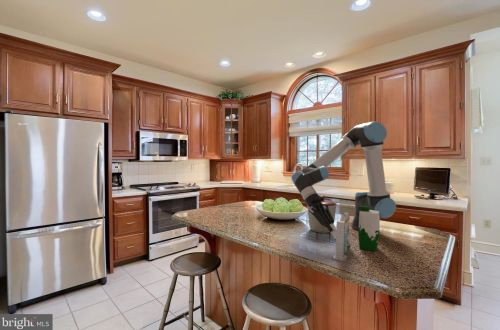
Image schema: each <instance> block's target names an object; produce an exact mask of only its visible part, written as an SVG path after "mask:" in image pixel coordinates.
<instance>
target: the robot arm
mask: <svg viewBox="0 0 500 330" xmlns="http://www.w3.org/2000/svg"><path fill="white" fill-rule="evenodd" d="M387 135H388V132H387V128H386V126H385V125H384V124H383V123H382V122H379V121H370V122H365V123H362V124H357V125H355V126H353V127H352V128H351V129H350V130H349V131H347V132H346V133H345V134H344V135H342V136H341V139H340V140H339V141H337V143H335V144H334V145H333V146H331V147H330V148H329V149H328V150H326V151H325V152H324V153H323V154H322V155H320V156H319V157H317V158H316V160H314V161H313V162H311V163H310V164H309V165H308V166H305V167H303V168H301V170H298V171H295V172H294V173H293V174H292V176H291V181H292V182H293V184H294V187H296V189H297V191H298V193H300V195H301V197H302V198H303V200H304V202H305V203H307V204H306V206H307V205H308V206H309V207H310V208H311V209H310V210H309V212H310V213H311V214H313V216H314V217H315V218H316V219H317V220H318V221H319V223H320V224H321V225H322V226H324V227H327V229H328V230H329V232H328V233H330V234H331V236H332V237H333V239H334V240H336V232H337V227H336V226H335V220H334V219H333V217H332V215H331V213H330V211H329V208H328V206H324V205H323V204H322V203H321V198H320V197H319V196H320V195H319V194H318V193H317V191H316V189H315V188H314V185H315V184H319V183H321V182H322V181H323V182H324V181H325V180H327V179H328V178H329V177H330V171H329V169H328V167H330V166H331V164H333V163H334V162H336V160H338V159H339V158H340V157H342V156H343V155H344V154H346V152H348V151H349V150H353V149H354V148H355V147H357V146H360V148H361V149H363V151H364V157H365V158H364V159H365V167H366V174H367V181H368V182H367V183H368V190H369V191H357V192H355V197H354V199H355V200H354V217H353V219H352V222H351V228H352V229H354V230H356V231H359V212H360V206H368V207H369V210H373V211H379V218H380V219H381V218H382V219H387V218H390V217H392V216H393V214H394V213H395V211H396V208H397V205H396V204H397V203H396V201H395V200H393V198H391V193H390V191H388V190H387V186H386V185H387V184H386V177H385V170H384V163H383V154H382V147H383V146H384V145H385V144H384V140H385V139H386V138H387ZM333 223H334V225H333Z"/></svg>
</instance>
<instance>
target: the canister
mask: <svg viewBox="0 0 500 330" xmlns="http://www.w3.org/2000/svg"><path fill="white" fill-rule="evenodd" d="M319 197H320V198H321V203H322V204H323V205H324V206H328V208H329V211H330V213H331V215H332V217H333V219H334V221H335V219H336V213H337V211H336V210H337V207H338V203H336V202H335V201H332V200H327V199H326V197H325V196H324V195H319ZM305 203H306V202H305ZM306 206H307V207H306V208H307V218H308V227H309V229H310V230H311V231H312V232H315V233H318V234H319V233H320V234H321V233H322V234H329V233H330V232H329V230H328V229H327V227H324V226H322V225H321V224H320V223H319V221H318V220H317V219H316V218H315V217H314V216H313V214H311V213H310V212H309V210H310V209H311V208H310V207H309V206H308V205H307V203H306ZM333 225H334V226H335V222H334V223H333Z"/></svg>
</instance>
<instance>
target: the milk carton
mask: <svg viewBox="0 0 500 330" xmlns="http://www.w3.org/2000/svg"><path fill="white" fill-rule="evenodd" d="M380 220H381V218H380V217H379V211H373V210H369V207H368V206H360V212H359V230H358V247H359V248H358V249H361V250H366V251H370V252H371V251H372V252H376V251H377V249H378V245H379V240H380V230H381V229H380V226H381V225H380V223H381V221H380Z"/></svg>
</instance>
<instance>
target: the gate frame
mask: <svg viewBox="0 0 500 330" xmlns="http://www.w3.org/2000/svg"><path fill="white" fill-rule="evenodd" d="M344 217H345V218H348V221H347V232H345V221H340V220H337V221H336V230H337V232H336V239H335V240H336V241H335V243H336V244H335V253H334V254H333V257H332V260H333V261H334V260H335V261H340V262H343V263H344V262H346V260H347V259H348V256H347V255H345V253H346V252H347V251H348V247H350V246H351V242H350V241H349V240H350V212H344V213H343V218H344Z"/></svg>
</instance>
